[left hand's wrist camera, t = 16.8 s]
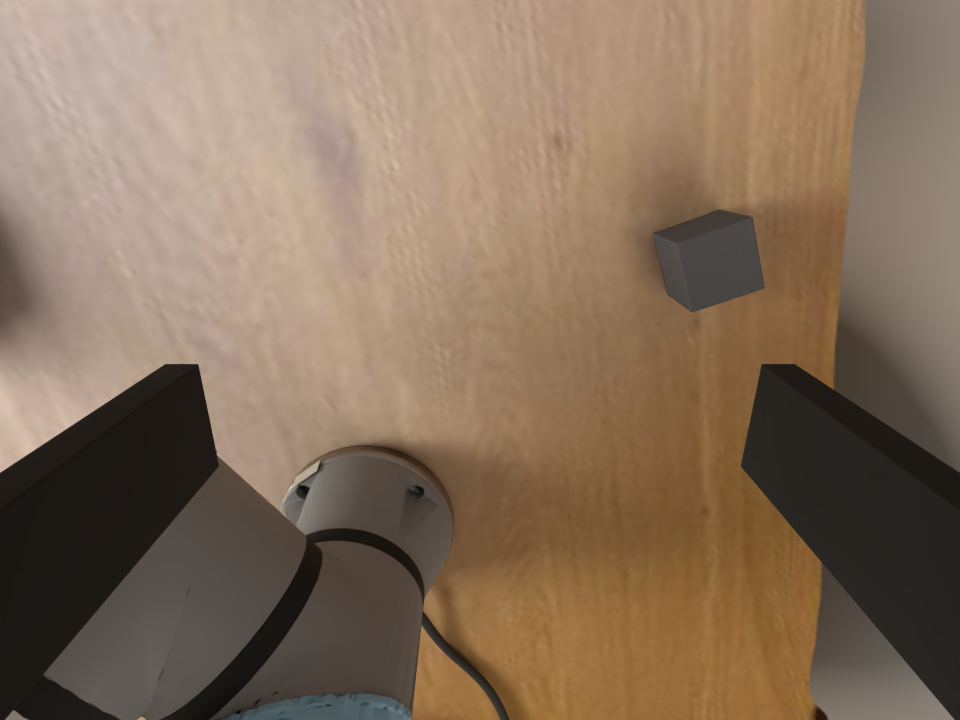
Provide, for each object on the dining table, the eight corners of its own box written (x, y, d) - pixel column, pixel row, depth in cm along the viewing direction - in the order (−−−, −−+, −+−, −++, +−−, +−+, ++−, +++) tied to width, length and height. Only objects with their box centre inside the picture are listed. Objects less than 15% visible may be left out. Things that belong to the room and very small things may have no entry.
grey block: (732, 273, 40) (765, 288, 36) (667, 295, 41) (691, 312, 36) (719, 209, 39) (752, 216, 34) (652, 233, 39) (676, 243, 35)
